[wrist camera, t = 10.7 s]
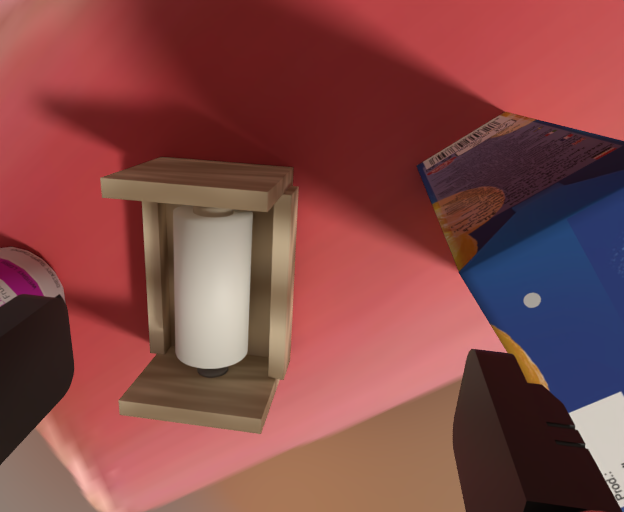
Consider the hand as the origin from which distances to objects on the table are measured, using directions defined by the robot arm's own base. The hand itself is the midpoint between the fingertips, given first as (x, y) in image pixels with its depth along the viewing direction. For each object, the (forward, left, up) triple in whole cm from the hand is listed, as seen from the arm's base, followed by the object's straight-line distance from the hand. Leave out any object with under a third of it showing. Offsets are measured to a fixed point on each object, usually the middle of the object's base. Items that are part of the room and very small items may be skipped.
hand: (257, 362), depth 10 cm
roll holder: (+9, -9, -29) cm, 32 cm away
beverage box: (+2, +11, -29) cm, 31 cm away
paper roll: (+9, -9, -28) cm, 31 cm away
